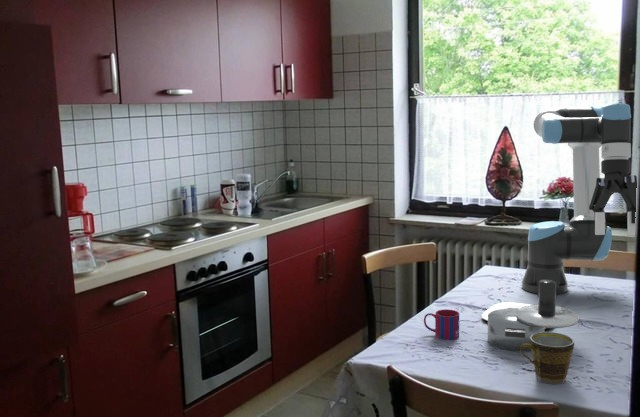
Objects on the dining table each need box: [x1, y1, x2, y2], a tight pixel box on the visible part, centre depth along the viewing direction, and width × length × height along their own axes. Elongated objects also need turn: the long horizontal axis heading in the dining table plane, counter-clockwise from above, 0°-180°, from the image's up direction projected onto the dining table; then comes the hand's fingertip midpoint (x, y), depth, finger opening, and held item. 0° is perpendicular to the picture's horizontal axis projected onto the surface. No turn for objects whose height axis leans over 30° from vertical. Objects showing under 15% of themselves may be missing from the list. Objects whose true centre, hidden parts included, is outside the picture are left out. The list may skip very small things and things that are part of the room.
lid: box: [516, 280, 579, 329], centre depth 181 cm, size 16×16×10 cm
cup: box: [423, 309, 460, 341], centre depth 191 cm, size 7×10×7 cm
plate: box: [481, 301, 548, 330], centre depth 204 cm, size 22×22×2 cm
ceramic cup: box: [519, 331, 575, 385], centre depth 159 cm, size 13×10×10 cm
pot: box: [487, 308, 545, 353], centre depth 185 cm, size 20×15×7 cm
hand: (615, 235), depth 186 cm, fingers open, 13 cm apart
